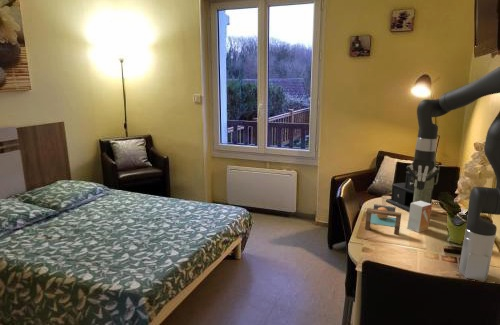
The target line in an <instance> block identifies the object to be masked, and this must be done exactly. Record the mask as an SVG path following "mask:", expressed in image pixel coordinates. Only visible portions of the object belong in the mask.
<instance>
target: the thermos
mask: <svg viewBox="0 0 500 325" xmlns="http://www.w3.org/2000/svg"><path fill="white" fill-rule="evenodd" d="M434 164H435V167H436V166H437V169H439V171H440V168H441V166H440V164H439V163H437V159H436V157H435V158H434ZM432 170H433V169H432ZM432 170H431V171H430V172H429V173H427V176H426V177H428V176H429V175H430V174H431V173H432V172H433V171H432ZM412 171H413V172H414V173H415V171H416V170H415V168H414V167H413V170H412ZM439 175H440V172H439V173H438V174H437V175H435V178H436V179H435V178H434V177H433V178H432V179H431V180H430V181H425V185H424V189H422V190H418V188H417V180H416V179H413V177H412V181H413V182H414V187H415V190H414V197H413V202H417V201H423V202H427V203H430V200H431V193H432V190H433V191H434V188H435V187H434V186H435V185H438V182H439ZM416 176H418V172H417V174H416ZM422 176H423V173H421V180H422ZM433 187H434V188H433Z"/></svg>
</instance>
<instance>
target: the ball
mask: <svg viewBox="0 0 500 325" xmlns="http://www.w3.org/2000/svg"><path fill="white" fill-rule="evenodd" d="M378 210H385V211H388V210H387V209H386V208H384V207H380V208H378ZM375 215H377V216H378V217H379V218H380V219H385V218H387V217H389V216H388V215H381V214H375Z"/></svg>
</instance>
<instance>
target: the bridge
mask: <svg viewBox="0 0 500 325" xmlns="http://www.w3.org/2000/svg"><path fill="white" fill-rule="evenodd" d="M371 214H374V215H376V214H381V215H388V217H393V218H396V222H395V227H394V232H393V234H394V235H396V236H397V235H400V227H401V219H402V212H398V211H395V212H392V211H385V210H378V209H374V208H371V207H367V209H366V215H365V217H366V218H365V227H364V229H365V230H368V231H369V230H370V228H371V223H370V222H371Z"/></svg>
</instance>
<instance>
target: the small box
mask: <svg viewBox="0 0 500 325" xmlns="http://www.w3.org/2000/svg"><path fill="white" fill-rule="evenodd" d="M432 207H433V204H432V203H431V204H430V203H427V202H423V201H417V202H413V203H411V204H410V212H408V220H407V221H408V222H407V227H406V228H407V229H409V230H411V231H413V232H416V233H419V234H420V233H421V232H425V231H427V230H429V227H430V226H429V225H430V219H431V215H432V214H431V213H432Z"/></svg>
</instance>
